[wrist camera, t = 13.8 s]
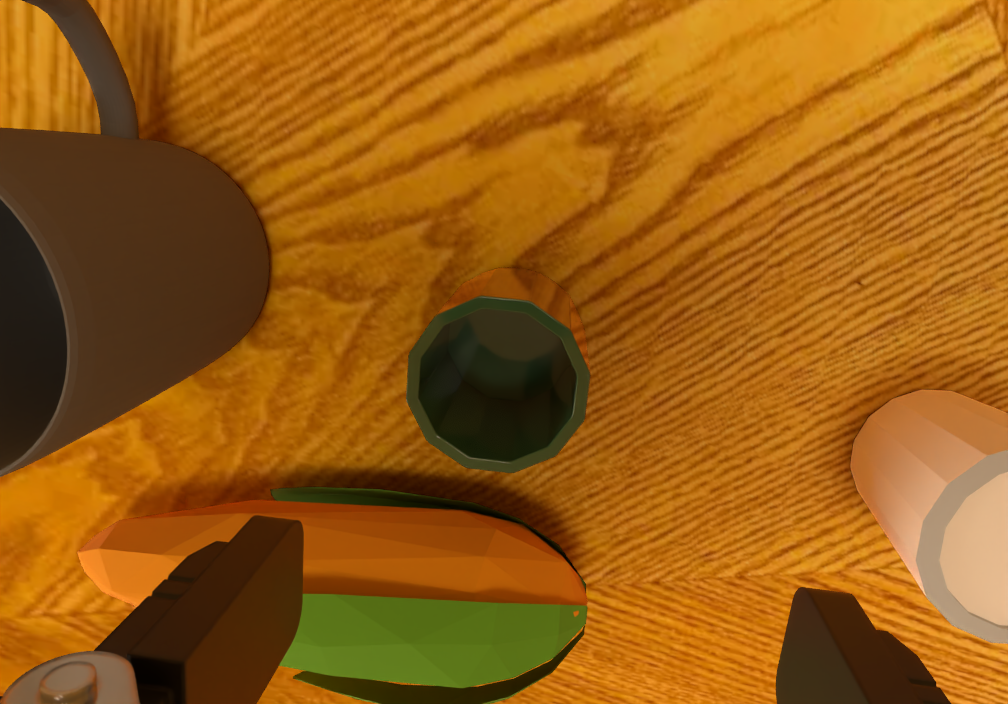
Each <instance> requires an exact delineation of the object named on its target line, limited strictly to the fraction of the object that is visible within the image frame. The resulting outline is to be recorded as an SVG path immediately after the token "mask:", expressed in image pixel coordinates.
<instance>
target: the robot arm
mask: <svg viewBox="0 0 1008 704" xmlns="http://www.w3.org/2000/svg"><path fill="white" fill-rule="evenodd" d="M303 550H304V531H303V525H302V523H301V522H300V521H299V520H292V519H284V518H276V517H269V516H261V515H254V516H253V517H252V518H250V519H249V521H248V522H247V523H246V524H245V525H244V526H243V527H242V528H241V529H240V530H239V531H238V533H237V534H236V535H235V536H234V537H233V538H232V539H231V540H230V541H229V542H223V541H215V542H213V543H211V544H209V545H207V546H206V547H204V548H202V549H200V550H198V551H196V552H194V553H192V554H190V555H188V556H187V557H186V558H185V559H184V560H183V561H182V562H181V563H180V564H179V565H178V566H177V567H176V568H175V569H174V570H173V571H172V572H171V573H170V574H169V575H168V579H167V580H166V579H164V580H163V581H162V582H161V583H160V584H159V585H158V586H157V587H156V588H155V589H154V590H153V591H152V595H151V596H147V597H146V598H145V599H144V600H143V601H142V602H141V603H140V605H139V606H138V607H137V608H136V609H135V610H134V611H133V612H132V613H131V614H130V615H129V616H128V617H127V618H126V619H125V620H124V621H123V622H122V623H121V624H120V625H119V626H118V627H117V628H116V629H115V630H114V631H113V632H112V633H111V634H110V635H109V636H108V637H107V638H106V639H105V640H104V641H103V642H102V643H101V644H100V645H99V646H98V647H97V648H96V649H95V650H94V651H86V652H78V653H73V654H68V655H64V656H61V657H57V658H54V659H52V660H49V661H47V662H44V663H42V664H40V665H38V666H36V667H34V668H33V669H31V670H29V671H28V672H26V673H25V674H23V675H22V676H21V677H19V678H18V679H17V680H16V681H15V682H14V683H13V684H12V685H10V686H9V688H8V689H7V690H6V692H5V693H4V694H3V696H0V704H256V703H257V702H258V700H259V698H260V697H261V695H262V693H263V692H264V690H265V688H266V687H267V685H268V683H269V681H270V680H271V678H272V676H273V675H274V673H275V671H276V670H277V668H278V666H279V665H280V663H281V661H282V659H283V658H284V656H285V654H286V653H287V651H288V649H289V648H290V646H291V644H292V642H293V640H294V638H295V635H296V633H297V629H298V626H299V622H300V618H301V612H302V602H303ZM776 698H777V704H951V703H950V701H949V700H948V699H947V697H946V696H945V694H944V693H943V691H942V690H941V689H940V688H937V687H936V681H935V680H934V679H933V677H932V676H931V674H930V673H929V671H928V670H927V669H926V667H925V666H924V664H923V663H922V661H921V660H920V659H919V657H918V656H917V655H916V654H915V653H913V652H912V651H911V650H910V649H909V648H907V647H906V646H905V645H904V644H902V643H901V642H900V641H899V640H898V639H896V638H895V637H894V636H893V635H891V634H890V633H889V632H888V631H880V630H876V629H875V627H874V626H873V624H872V623H871V621H870V620H869V618H868V617H867V615H866V614H865V612H864V611H863V609H862V607H861V606H860V604H859V603H858V601H857V600H856V598H855V597H854V596H853V595H852V594H849V593H843V592H835V591H828V590H820V589H812V588H805V587H800V588H799V589H798V590H797V591H796V593H795V595H794V598H793V601H792V606H791V610H790V615H789V619H788V624H787V628H786V633H785V637H784V642H783V646H782V651H781V655H780V660H779V664H778V669H777V676H776Z"/></svg>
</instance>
